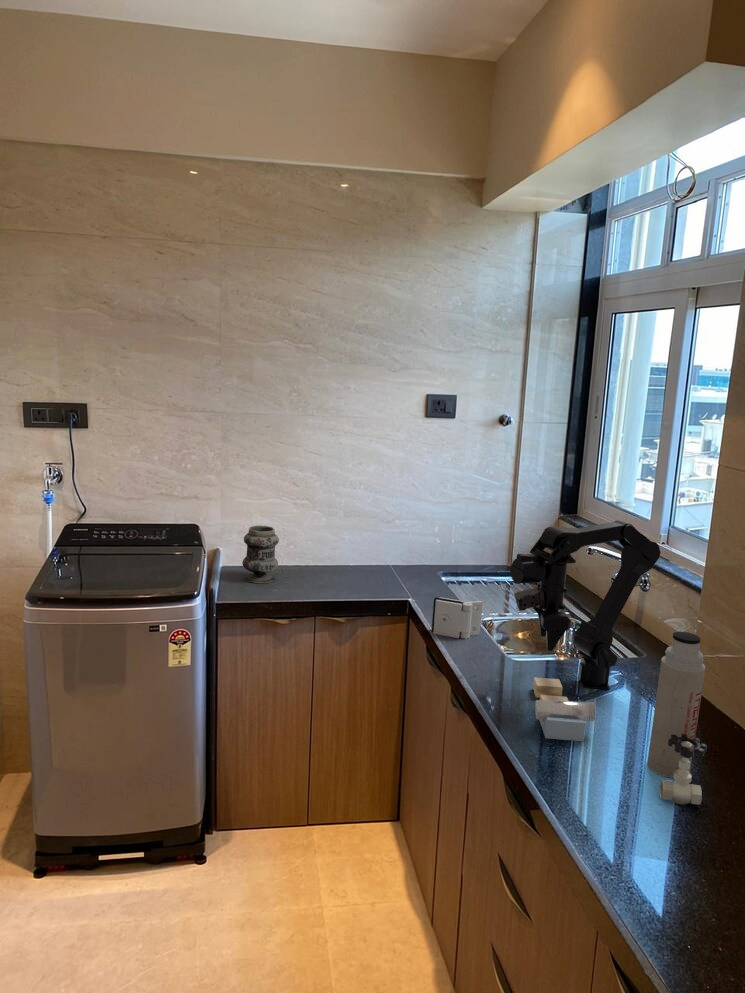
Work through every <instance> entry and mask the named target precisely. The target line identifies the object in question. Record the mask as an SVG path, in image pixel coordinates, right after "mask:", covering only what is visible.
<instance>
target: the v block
mask: <svg viewBox="0 0 745 993" xmlns="http://www.w3.org/2000/svg"><path fill="white" fill-rule="evenodd" d="M538 720H539V723H540V727H541V729H542V732H543V734H544V738H545V739H549V740H550V739H553V740H564V741H577V742H585V740H584V739H585V733H586V724H587V723H586V722H587V721H585V720H577V719H564V718H552V717H546V719H538Z"/></svg>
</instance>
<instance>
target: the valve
mask: <svg viewBox="0 0 745 993" xmlns="http://www.w3.org/2000/svg"><path fill="white" fill-rule="evenodd" d="M682 741H684V742H683V743H682V745H681V742H682ZM700 742H701V740H700V738H698V737H695V738H693V739H690V738H688V736H687V735H686V734H681V737H677V735H674V734H672V735H671V739H669V740H668V745H669V746H671V747H672V744H674V745H675V749H674V751H675V752H677V753H680V755H681V756H682V758H681V759H680V760H679V766H678V767H680V768H679V769H678V770H675V771H674V778H673V779H674V780H668V779H660V780H659V797H660V799H661V800H667V801H672V802H673V803H675V804H678V805H687V804H692V805H699V806H700V805H701V803H702V798H703V794H702V786H701V785H700V784H693V783H691V782H692V774H691V772H690V773H689V771H688V769H689V768H690V761H689V760H688V758H691V757H692V758H693V757H694V756H696V755H698V756H700V757H704V756H705V752H707V749H708V745H707V744H706V743H700ZM691 743H692V744H694V748H692V746H693V745H692V744H691ZM690 769H691V768H690Z"/></svg>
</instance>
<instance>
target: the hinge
mask: <svg viewBox="0 0 745 993" xmlns="http://www.w3.org/2000/svg"><path fill="white" fill-rule="evenodd" d="M483 604H484V603H483V601H481V600H476V601H473V600H472V601H464V600H460V599H459V600H458V599H454V598H453V599H452V598H448V597H447V598H446V597H440V596H439V597H434V598H433V607H432V608H433V609H432V617H431V618H432V622H431V633H433V634H434V635H437V636H438V635H439V636H445V637H451V638H456V639H460V638H461V639H463V638H465V639H464V640H467V638H469V639H470V637H471V636H479V635H478V634H480V633H481V625H482V624H481V623H482V611H483ZM473 628H474V629H473ZM480 635H481V634H480Z"/></svg>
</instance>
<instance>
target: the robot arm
mask: <svg viewBox="0 0 745 993" xmlns="http://www.w3.org/2000/svg"><path fill="white" fill-rule="evenodd" d="M616 541H617V542H618V544H619V545H620V546H621V547H622V551H621V553H620V569H619V570H618V572H617V574H616V576H615V578H614V580H613V581H612V583H611V585H610V586H609V588H608V591H607V592H606V595H605V597H604V598H603V600H602V602H601V604H600V606H599V608H597V609H598V610H597V611H596V613H595V615H594V617H593V618H591V619H590V620H589V621H586V620H582V621H580V624H579V626H578V628H577V630H576V631H575V632H574V635H575V637H574V639H573V642H574V646H575V647H576V649H577V653H578V654H579V655H580V656H582V658H581V659H582V660H581V661H580V662H579V666H578V672H577V673H578V674H577V678H578V680H579V682H580V683H581V685H582V688H589V689H599V690H600V689H603V690H610V689H611V687H610V685H609V679H610V671H611V667H615V666H616V664H617V661H618V656H617V655H616V654H615V653H614V652H613V651H612V649H611V647H612V644H613V641H614V640H613V639H614V638H613V636H614V633H613V628H614V627H615V624H616V622H617V620H618V618H620V617H619V616H620V615H621V613H622V611H623V610H624V607H625V605H626V603H627V602H628V599H629V598H630V596H631V594H632V592H633V591H634V589H635V586H636V585H637V583H638V581H639V579H640V578H641V577H642V576H643V575H644V574H646V573H647V572H649V571H650V570H652V568H653V567H654V566H655V564H656V563H657V562H658V560H659V559H660V556H661V548H660V546H659V544H658V543H657V542H655V541H652V540H651V539H650V538H648V537H647V536H646V535H644V534H643V533H641V532H640V531H639V530H638V529H637V528H636V527H634V525H632V524H631V523H630V522H626V521H624V520H620V519H618V520H614V521H611V522H607V523H600V524H599V523H598V524H594V525H587V526H583V527H577V528H575V527H566V526H548V527H546V528H545V529H544V531H543V532H542V534H541V535H540V537H539V538H538V540H537V541H536V542H535V544H534V545H533V547H532V548H530V551H529V553H526V554H525V553H517V554H516V558H515V559H514V560H513V561H512V563H511V564H510V568H509V572H510V573H509V574H510V578H511V579H512V581H513V582H514V584H519V585H520V584H521V585H522V584H534V583H536V587H534V588H533V587H532V588H528V589H525V590H520V591H516V592H514V593H513V595H514V599H515V603H516V606H517V608H518V610H519V611H521V612H523V611H526V610H527V609H532V608H533V610H534V611H535V612H536V613H537V617H538V624H539V632H540V636H541V637H544V638H546V639H545V640H546V648H547V649H546V650H547V651H548V652H552V651H553V650H554V649H555V647H556V646H557V644H558V643H559V641H560V640H561V638H562V637H563V635H565V633H566V632H567V631H568V630H569V629H571V625H572V624H571V623H572V619H571V618H570V617H569V615H568V614H567V613H566V612H565V606H566V605H565V603H564V599H565V594H567V587H566V578H567V571H568V570H567V569H568V564H575V563H577V561H576V559H575V558H573V556H572V555H571V554H574V553H576V552H578V551H579V550H580V549H581V548H584V547H587V546H593V545H598V544H599V545H600V544H604V543H609V542H610V543H611V542H616ZM549 552H550V553H549Z"/></svg>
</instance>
